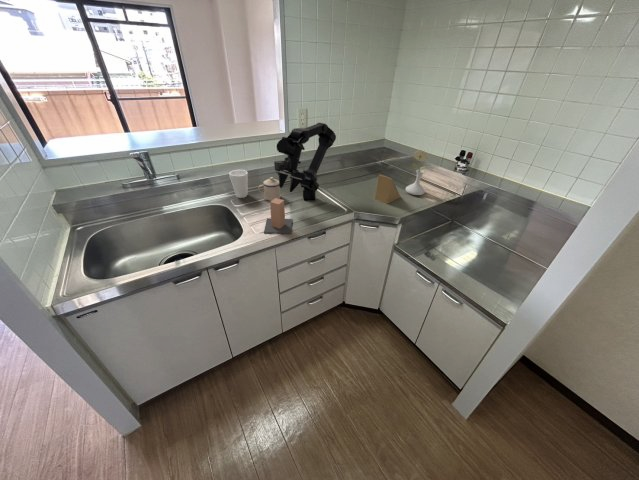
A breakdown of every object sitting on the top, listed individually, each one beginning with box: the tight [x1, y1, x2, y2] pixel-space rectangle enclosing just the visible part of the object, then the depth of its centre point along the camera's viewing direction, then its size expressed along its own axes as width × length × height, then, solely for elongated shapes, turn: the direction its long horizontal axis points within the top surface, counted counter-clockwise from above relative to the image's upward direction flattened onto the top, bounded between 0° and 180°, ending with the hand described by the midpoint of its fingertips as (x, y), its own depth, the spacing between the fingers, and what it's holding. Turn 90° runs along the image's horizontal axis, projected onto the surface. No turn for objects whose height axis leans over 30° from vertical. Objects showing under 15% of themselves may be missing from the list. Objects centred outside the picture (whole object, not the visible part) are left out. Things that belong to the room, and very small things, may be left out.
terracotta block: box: [269, 198, 286, 229], centre depth 118 cm, size 4×4×12 cm
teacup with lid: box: [257, 176, 281, 202], centre depth 142 cm, size 12×9×12 cm
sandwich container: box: [374, 174, 401, 205], centre depth 148 cm, size 9×15×15 cm, turn 135°
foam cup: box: [228, 169, 249, 199], centre depth 142 cm, size 10×9×13 cm
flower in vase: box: [405, 149, 429, 196], centre depth 153 cm, size 13×11×25 cm
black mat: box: [263, 218, 293, 235], centre depth 121 cm, size 12×12×1 cm
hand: (285, 189), depth 126 cm, fingers open, 9 cm apart
